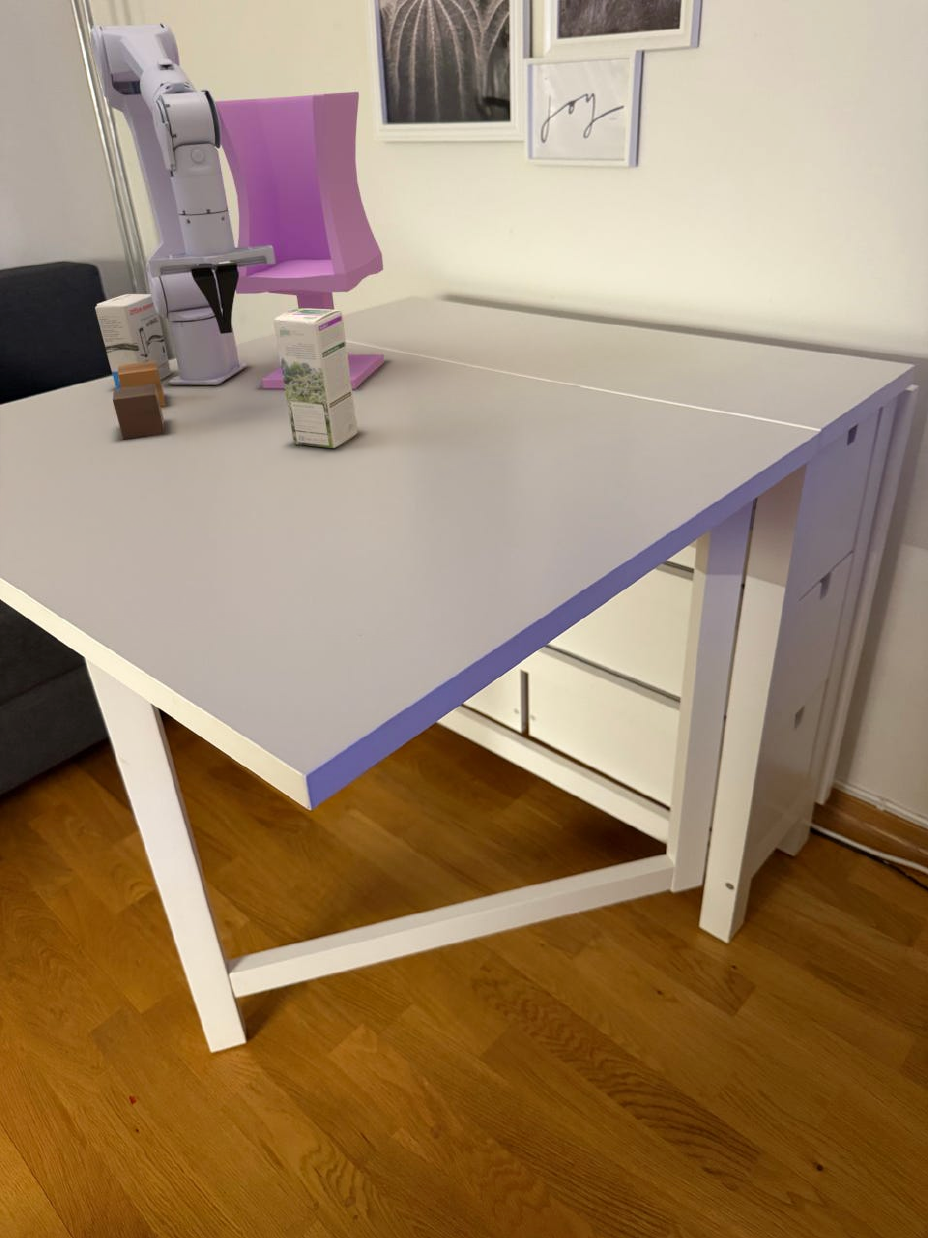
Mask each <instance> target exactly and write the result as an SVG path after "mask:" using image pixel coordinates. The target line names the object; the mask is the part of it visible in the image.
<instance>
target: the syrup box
mask: <svg viewBox="0 0 928 1238" xmlns="http://www.w3.org/2000/svg"><path fill="white" fill-rule="evenodd" d="M273 327H274V335H275V339H276V344H277V352H278V357H279V363H280V367H281V369H282V375H283V381H284V387H285V388H284V393H285V398H286V404H287V410H288V417H289V422H290V423H289V424H290V427H291V435H292V440H293V443H294V445H302V446H309V447H319V448H327V449H336V448H337V447H339V446H341V445H343V444H344V443H346V442H347V441H349V440H350V439H353V437H355V436H356V435H358V425H357V418H356V412H355V404H354V396H353V389H352V388H351V380H350V372H349V364H348V355H347V354H348V346H347V338H346V330H345V323H344V315H343V310H341V309H334V310H330V309H304V308H299V309H298V308H295V309H291V310H288V311H286V312H284V313H282V314H280V315H279V316H277V317H275V318H273Z"/></svg>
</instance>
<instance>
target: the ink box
mask: <svg viewBox="0 0 928 1238" xmlns="http://www.w3.org/2000/svg"><path fill="white" fill-rule="evenodd" d="M94 309H95V313H96V317H97V321H98V325H99V329H100V332H101V337H102V339H103V344H104V348H105V351H106V356H107V359H108V362H109V366H110V370H111V373H112V378H113V383H114V385H115V389H118V388H121V385H120V381H119V377H118V366H119V365H126V364H134V363H142V362H149V361H156V363H157V367H158V371H159V376H160V380H161V381H162V380H164V379H165V378H167V377H168V376H170V375H172V370H171V369H172V368H171V365H170V361H169V356H168V351H167V347H166V343H165V339H164V334H163V328H162V325H161V320H160V315H159V314H158V313H157V312H156V310H155V307H154V304H153V301H152V298H151V294H150V293H146V294H145V293H125V294H122V295H119V296H116V297H113V298H110V299H107V300H105V301H102V302H98V303H96V306H95V307H94Z"/></svg>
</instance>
